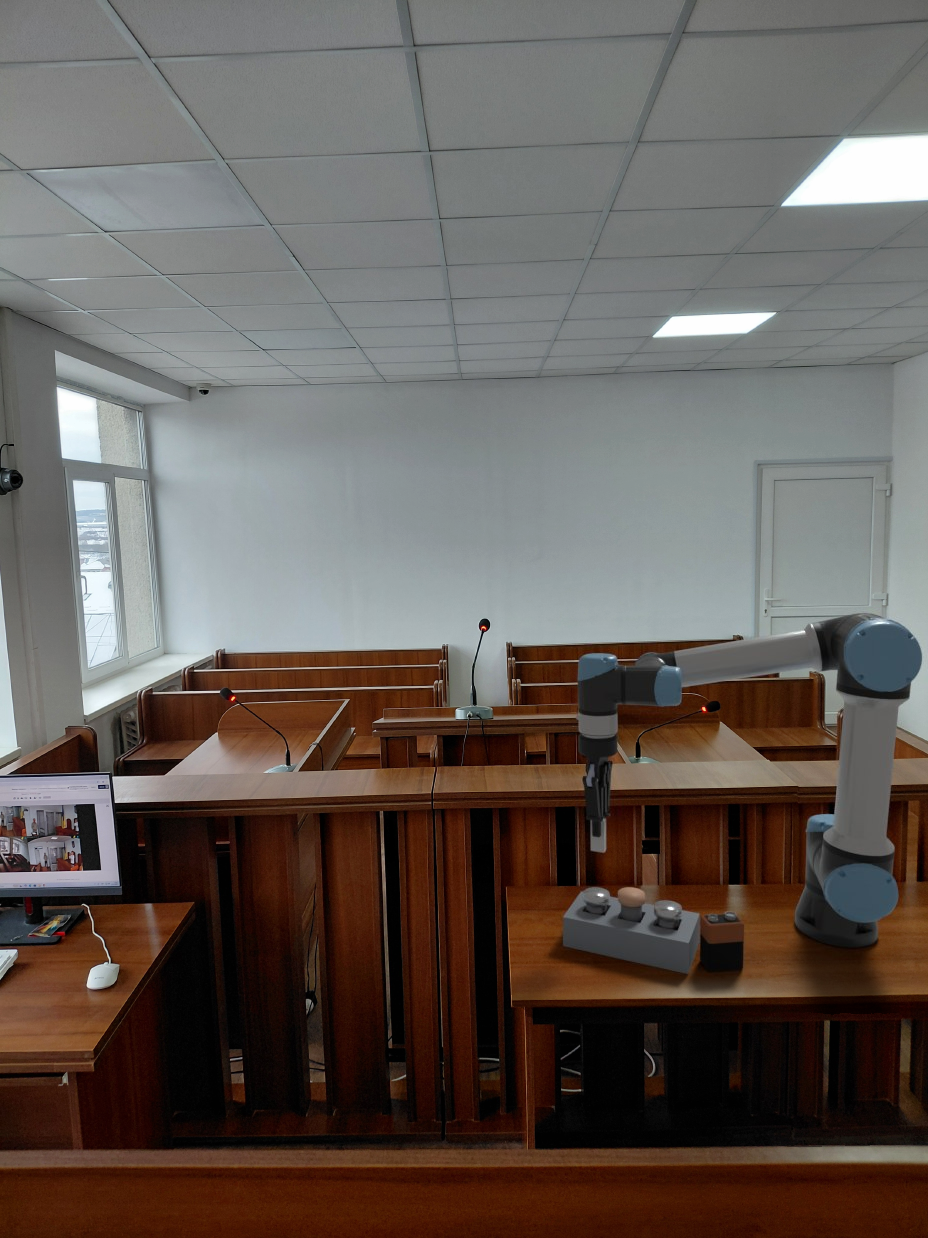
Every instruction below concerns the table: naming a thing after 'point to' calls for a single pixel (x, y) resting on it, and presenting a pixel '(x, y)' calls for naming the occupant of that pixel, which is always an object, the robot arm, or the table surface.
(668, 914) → the plunger
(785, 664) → the robot arm
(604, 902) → the plunger
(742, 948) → the battery
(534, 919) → the table surface
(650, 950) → the console
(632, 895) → the plunger mid
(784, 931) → the table surface
